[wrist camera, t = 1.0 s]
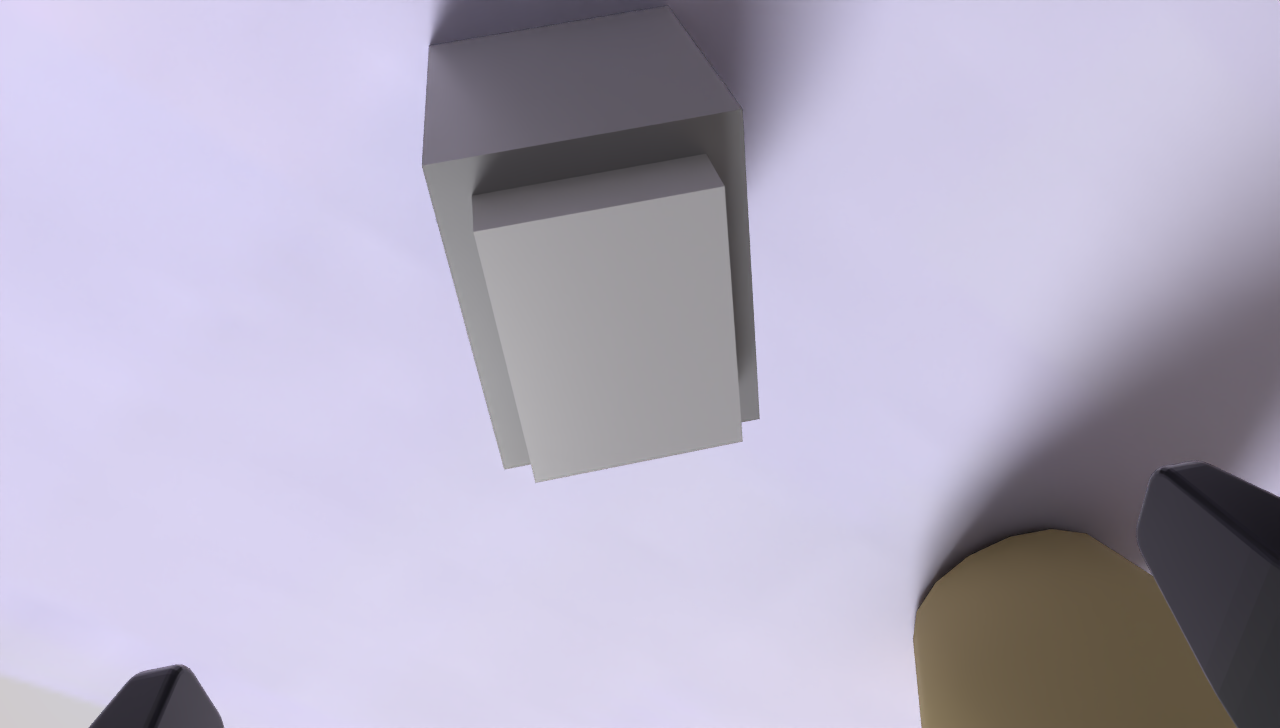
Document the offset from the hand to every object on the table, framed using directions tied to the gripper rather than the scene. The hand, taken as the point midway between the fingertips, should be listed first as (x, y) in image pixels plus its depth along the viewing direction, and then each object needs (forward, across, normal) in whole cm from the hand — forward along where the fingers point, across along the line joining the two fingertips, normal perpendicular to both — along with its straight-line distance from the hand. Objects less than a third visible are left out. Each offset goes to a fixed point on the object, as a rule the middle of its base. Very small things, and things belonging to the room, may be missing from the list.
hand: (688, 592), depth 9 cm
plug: (+10, 0, 0) cm, 10 cm away
